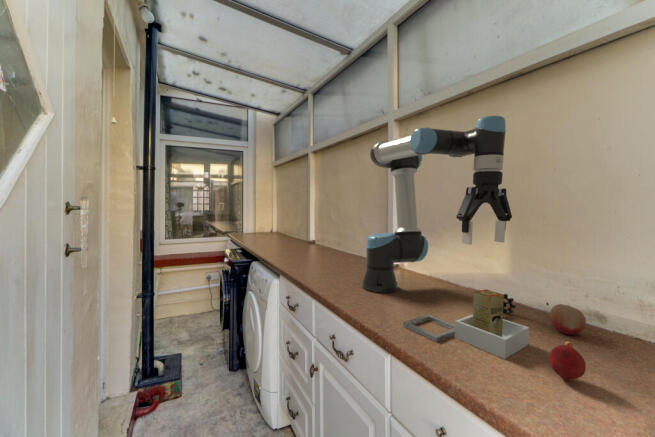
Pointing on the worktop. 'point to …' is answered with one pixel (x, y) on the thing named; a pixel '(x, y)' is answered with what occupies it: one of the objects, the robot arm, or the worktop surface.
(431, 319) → the collar
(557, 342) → the worktop surface
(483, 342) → the tray
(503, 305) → the valve
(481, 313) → the shoe polish box
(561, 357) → the onion
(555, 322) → the fruit
